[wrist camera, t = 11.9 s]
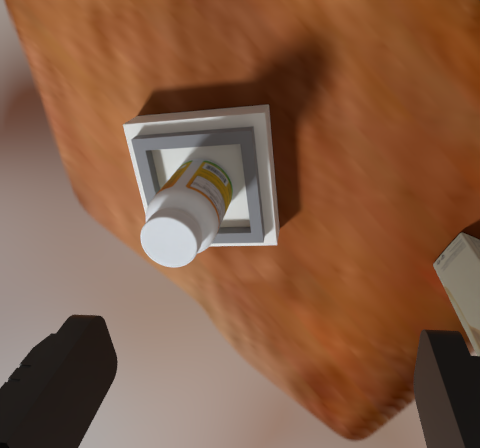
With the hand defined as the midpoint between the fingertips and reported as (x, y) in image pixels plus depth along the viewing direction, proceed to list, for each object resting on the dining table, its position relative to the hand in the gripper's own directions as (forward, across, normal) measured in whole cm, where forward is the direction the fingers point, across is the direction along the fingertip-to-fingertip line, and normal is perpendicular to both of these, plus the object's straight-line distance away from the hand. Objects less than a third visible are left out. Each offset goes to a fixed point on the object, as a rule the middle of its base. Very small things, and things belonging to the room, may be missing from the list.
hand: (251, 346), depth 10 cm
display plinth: (+27, +8, +6) cm, 29 cm away
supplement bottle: (+24, +8, +6) cm, 26 cm away
